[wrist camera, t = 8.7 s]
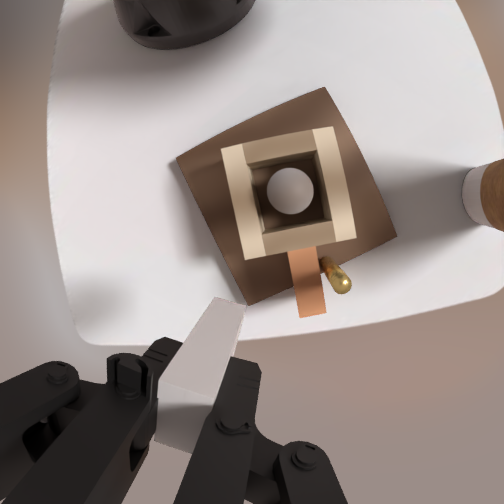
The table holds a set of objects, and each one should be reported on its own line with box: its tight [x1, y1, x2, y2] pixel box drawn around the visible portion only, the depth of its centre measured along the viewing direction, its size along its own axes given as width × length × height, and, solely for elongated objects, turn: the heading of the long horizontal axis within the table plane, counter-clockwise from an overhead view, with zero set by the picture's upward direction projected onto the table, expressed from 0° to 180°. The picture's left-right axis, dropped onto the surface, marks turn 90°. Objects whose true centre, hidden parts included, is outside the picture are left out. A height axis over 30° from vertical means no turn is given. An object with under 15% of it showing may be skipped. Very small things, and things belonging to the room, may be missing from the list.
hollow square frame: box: [221, 126, 357, 318], centre depth 22 cm, size 13×8×4 cm, turn 12°
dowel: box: [320, 256, 352, 294], centre depth 21 cm, size 1×1×7 cm
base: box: [176, 87, 397, 306], centre depth 22 cm, size 14×14×6 cm
